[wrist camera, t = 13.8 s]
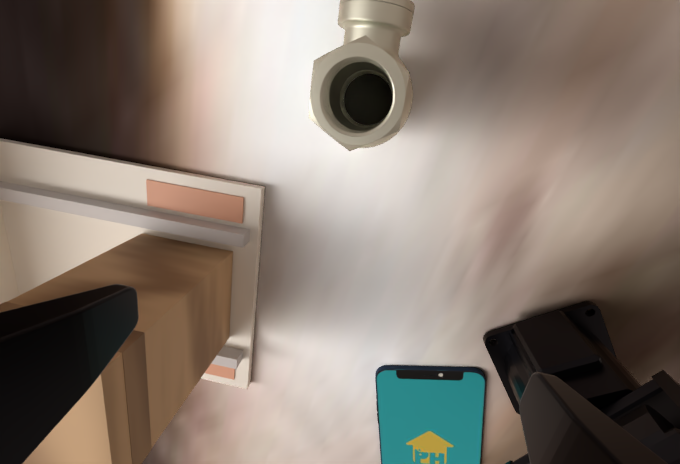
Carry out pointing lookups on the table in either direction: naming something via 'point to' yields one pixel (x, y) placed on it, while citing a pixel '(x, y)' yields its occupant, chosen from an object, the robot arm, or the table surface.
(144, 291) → the tan wooden block
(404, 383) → the smartphone
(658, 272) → the table surface
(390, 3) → the valve
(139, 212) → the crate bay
